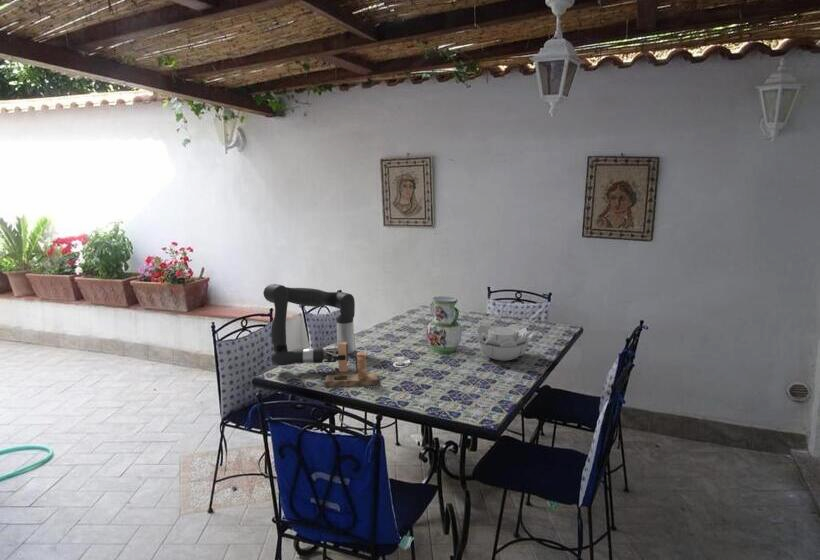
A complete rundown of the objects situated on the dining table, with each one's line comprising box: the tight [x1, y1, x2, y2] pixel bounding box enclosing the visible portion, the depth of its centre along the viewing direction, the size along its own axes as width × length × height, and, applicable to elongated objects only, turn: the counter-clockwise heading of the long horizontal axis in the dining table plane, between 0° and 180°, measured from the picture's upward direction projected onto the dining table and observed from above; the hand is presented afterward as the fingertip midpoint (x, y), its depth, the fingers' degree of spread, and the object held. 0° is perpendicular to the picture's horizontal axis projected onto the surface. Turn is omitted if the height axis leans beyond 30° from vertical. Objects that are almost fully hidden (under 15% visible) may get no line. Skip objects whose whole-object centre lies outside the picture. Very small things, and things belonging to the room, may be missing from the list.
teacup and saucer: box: [392, 356, 412, 368], centre depth 266 cm, size 9×8×4 cm
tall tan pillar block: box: [337, 342, 349, 373], centre depth 258 cm, size 5×4×14 cm
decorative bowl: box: [474, 323, 535, 362], centre depth 273 cm, size 30×30×15 cm
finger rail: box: [324, 351, 379, 388], centre depth 242 cm, size 24×8×14 cm, turn 93°
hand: (346, 354), depth 258 cm, fingers open, 8 cm apart
